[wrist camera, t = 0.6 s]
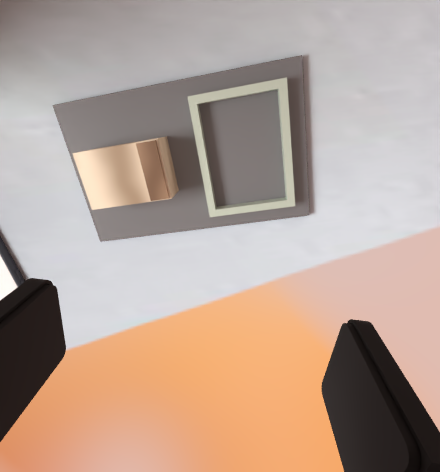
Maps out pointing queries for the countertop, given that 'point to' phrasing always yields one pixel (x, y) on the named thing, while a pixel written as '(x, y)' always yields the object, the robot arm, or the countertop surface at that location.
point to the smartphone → (8, 272)
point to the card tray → (285, 138)
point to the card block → (127, 173)
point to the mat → (185, 150)
